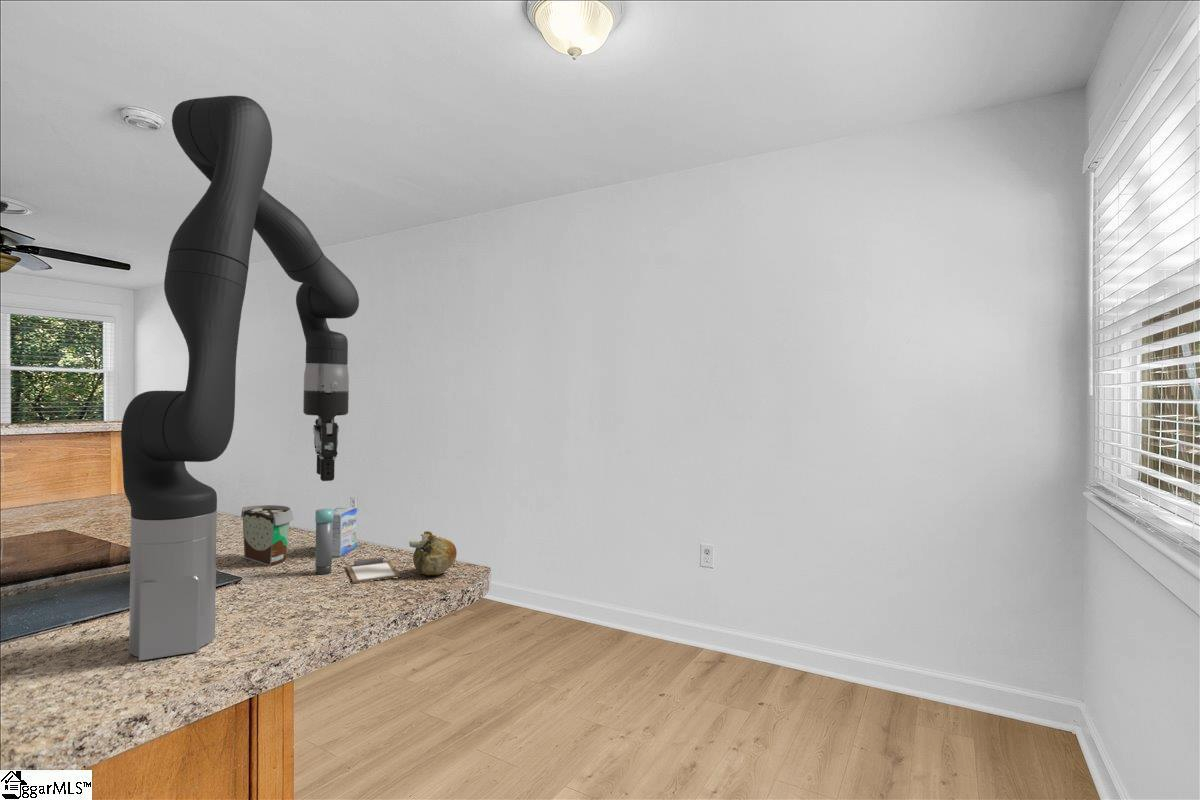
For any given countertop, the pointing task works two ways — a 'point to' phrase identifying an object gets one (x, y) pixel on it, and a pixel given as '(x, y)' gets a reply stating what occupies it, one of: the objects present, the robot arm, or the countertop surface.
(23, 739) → the countertop surface
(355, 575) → the clipboard
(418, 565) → the onion
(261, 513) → the food container
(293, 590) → the countertop surface
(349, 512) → the medicine box
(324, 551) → the marker
